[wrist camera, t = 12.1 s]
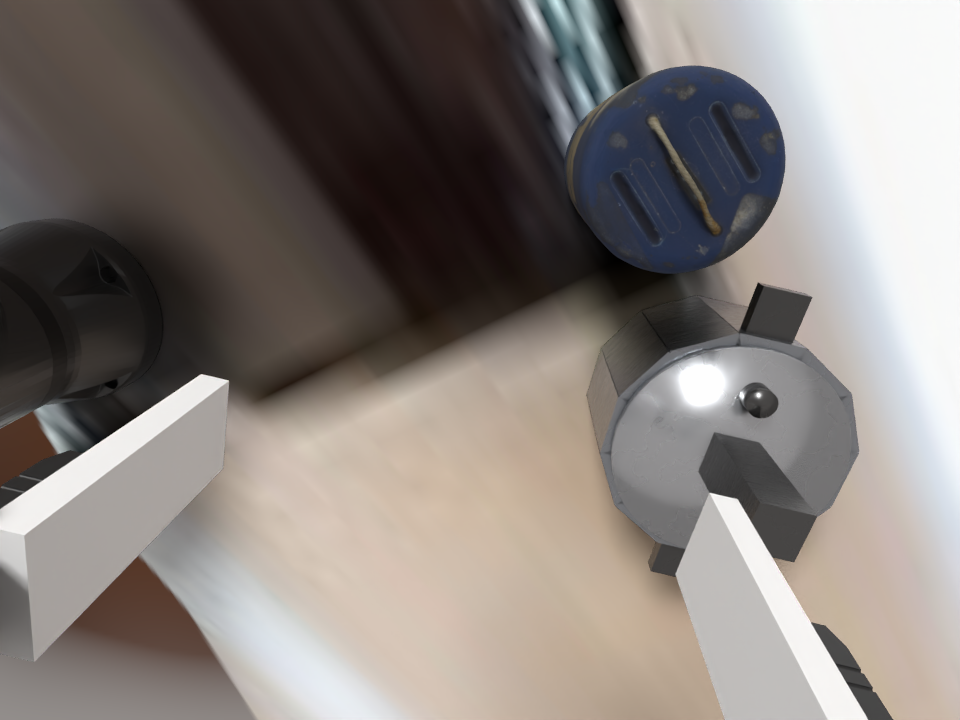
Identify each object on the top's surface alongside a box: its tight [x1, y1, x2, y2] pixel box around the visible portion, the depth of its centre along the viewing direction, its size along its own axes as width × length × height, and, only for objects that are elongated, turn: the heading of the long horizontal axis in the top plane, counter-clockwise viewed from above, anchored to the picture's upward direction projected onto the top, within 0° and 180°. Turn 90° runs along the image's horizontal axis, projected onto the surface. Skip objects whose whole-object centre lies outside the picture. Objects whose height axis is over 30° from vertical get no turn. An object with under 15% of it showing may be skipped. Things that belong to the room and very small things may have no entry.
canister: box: [564, 66, 785, 274], centre depth 34 cm, size 10×10×18 cm
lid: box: [611, 345, 852, 562], centre depth 35 cm, size 15×15×11 cm
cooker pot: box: [587, 283, 859, 577], centre depth 43 cm, size 16×22×10 cm
